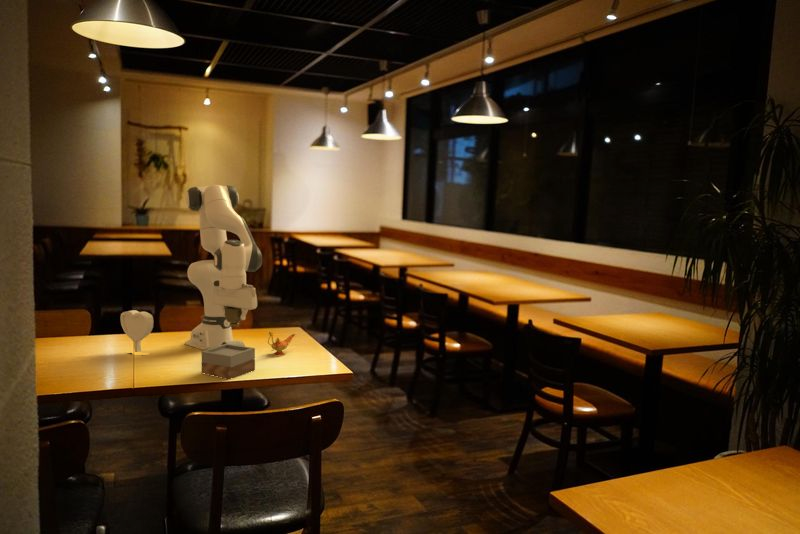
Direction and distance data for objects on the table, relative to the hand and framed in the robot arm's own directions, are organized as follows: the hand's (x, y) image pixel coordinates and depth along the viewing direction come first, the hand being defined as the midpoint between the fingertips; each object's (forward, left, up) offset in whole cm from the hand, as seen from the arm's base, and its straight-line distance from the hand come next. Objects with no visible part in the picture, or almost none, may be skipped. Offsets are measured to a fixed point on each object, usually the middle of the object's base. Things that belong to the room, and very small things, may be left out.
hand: (234, 318), depth 229 cm
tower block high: (-1, -2, -16) cm, 16 cm away
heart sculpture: (-52, -3, -21) cm, 57 cm away
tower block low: (-1, -2, -21) cm, 22 cm away
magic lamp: (-2, +31, -21) cm, 38 cm away
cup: (0, 0, -3) cm, 3 cm away
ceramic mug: (-15, +13, -21) cm, 29 cm away
